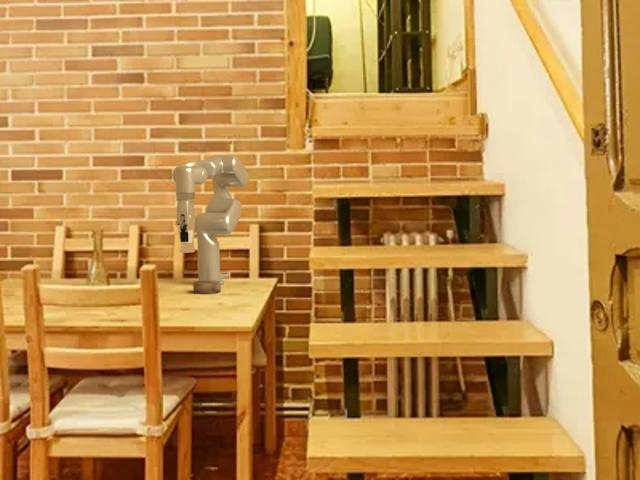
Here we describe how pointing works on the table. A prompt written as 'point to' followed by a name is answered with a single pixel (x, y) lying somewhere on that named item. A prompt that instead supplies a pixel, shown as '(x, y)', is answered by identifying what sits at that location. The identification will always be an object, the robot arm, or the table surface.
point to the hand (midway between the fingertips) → (187, 240)
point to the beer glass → (188, 246)
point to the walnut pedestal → (206, 287)
